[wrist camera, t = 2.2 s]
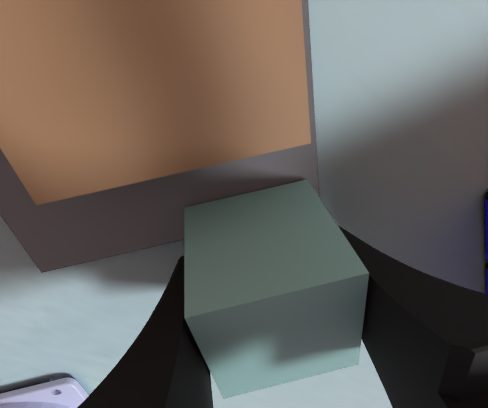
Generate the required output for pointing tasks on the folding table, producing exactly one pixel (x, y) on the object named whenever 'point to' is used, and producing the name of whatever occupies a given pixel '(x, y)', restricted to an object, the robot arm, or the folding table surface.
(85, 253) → the mat
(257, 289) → the teal cube
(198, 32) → the walnut slab
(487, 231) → the puzzle cube
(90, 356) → the folding table surface
